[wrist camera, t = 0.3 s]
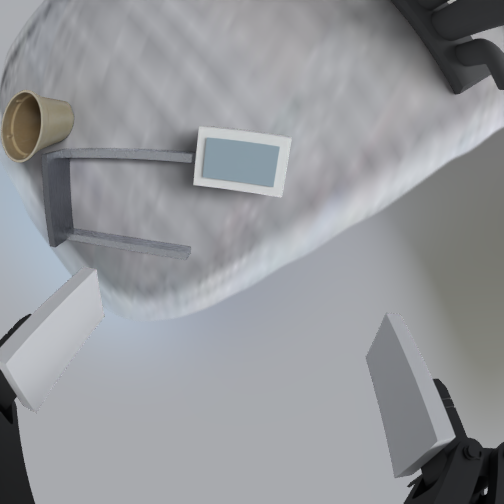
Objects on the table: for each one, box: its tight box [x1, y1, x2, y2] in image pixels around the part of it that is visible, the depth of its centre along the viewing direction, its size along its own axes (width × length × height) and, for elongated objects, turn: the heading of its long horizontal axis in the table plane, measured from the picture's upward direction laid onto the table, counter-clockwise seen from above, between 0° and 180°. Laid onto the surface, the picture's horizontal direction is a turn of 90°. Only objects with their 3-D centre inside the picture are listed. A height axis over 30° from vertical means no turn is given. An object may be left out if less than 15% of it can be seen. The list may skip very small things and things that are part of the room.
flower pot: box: [1, 90, 74, 163], centre depth 28 cm, size 9×9×9 cm
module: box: [193, 126, 292, 198], centre depth 30 cm, size 6×9×6 cm, turn 82°
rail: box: [42, 148, 196, 260], centre depth 34 cm, size 13×21×5 cm, turn 83°
